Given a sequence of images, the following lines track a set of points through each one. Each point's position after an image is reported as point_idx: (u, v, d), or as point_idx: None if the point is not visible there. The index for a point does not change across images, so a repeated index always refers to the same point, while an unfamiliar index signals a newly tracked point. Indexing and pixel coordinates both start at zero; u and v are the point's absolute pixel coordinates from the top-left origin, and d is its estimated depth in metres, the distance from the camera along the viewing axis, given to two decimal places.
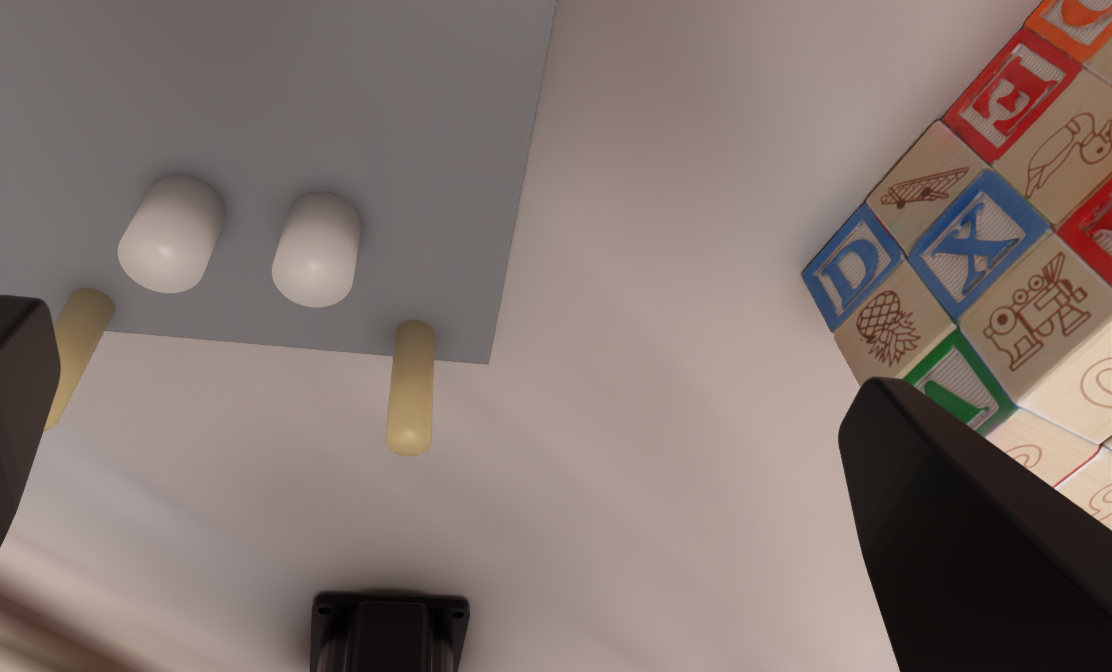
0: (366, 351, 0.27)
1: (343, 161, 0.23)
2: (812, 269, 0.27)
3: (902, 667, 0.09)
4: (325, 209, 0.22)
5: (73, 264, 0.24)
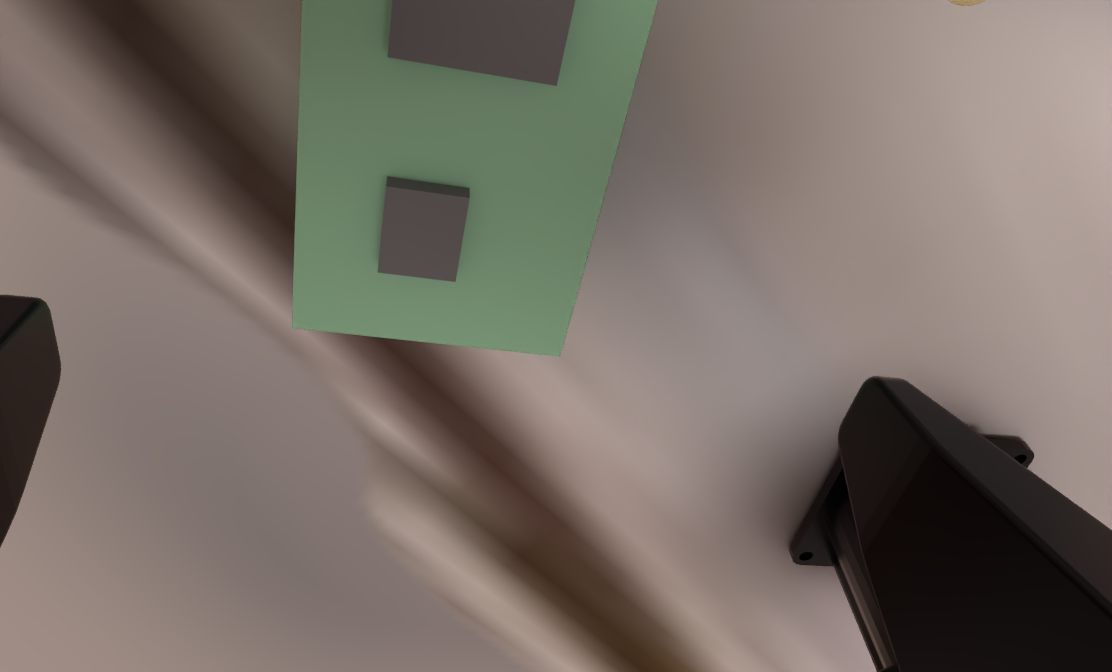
0: None
1: None
2: None
3: (902, 667, 0.09)
4: None
5: None
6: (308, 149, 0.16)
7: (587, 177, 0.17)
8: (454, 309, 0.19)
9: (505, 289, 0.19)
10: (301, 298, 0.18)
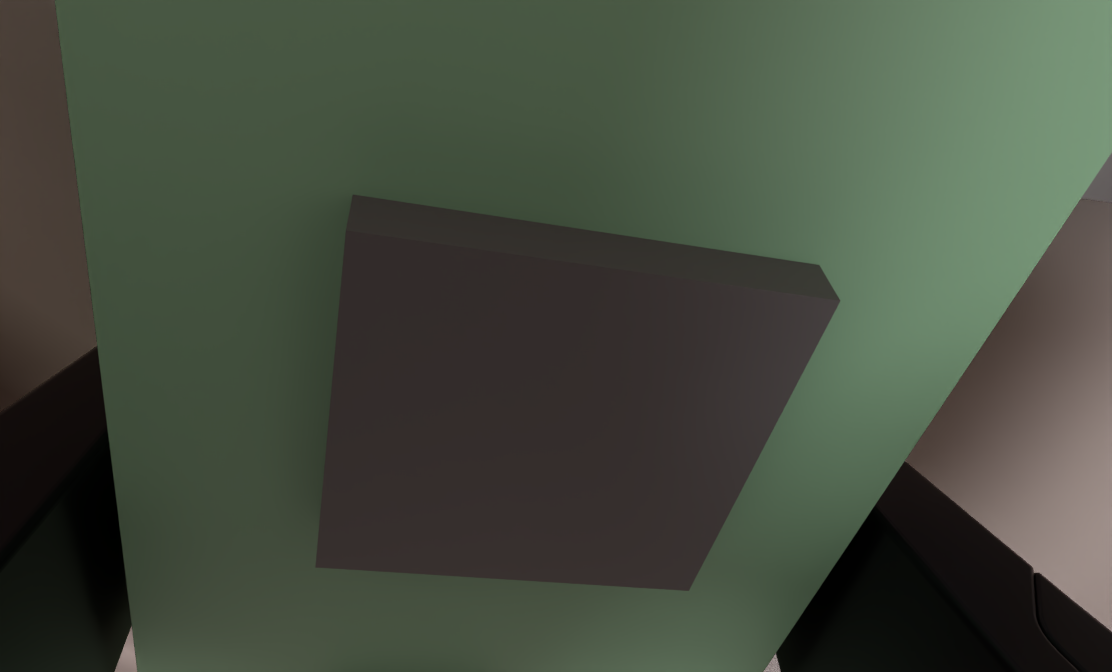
0: None
1: None
2: None
3: (781, 664, 0.09)
4: None
5: None
6: (161, 667, 0.08)
7: None
8: None
9: None
10: None
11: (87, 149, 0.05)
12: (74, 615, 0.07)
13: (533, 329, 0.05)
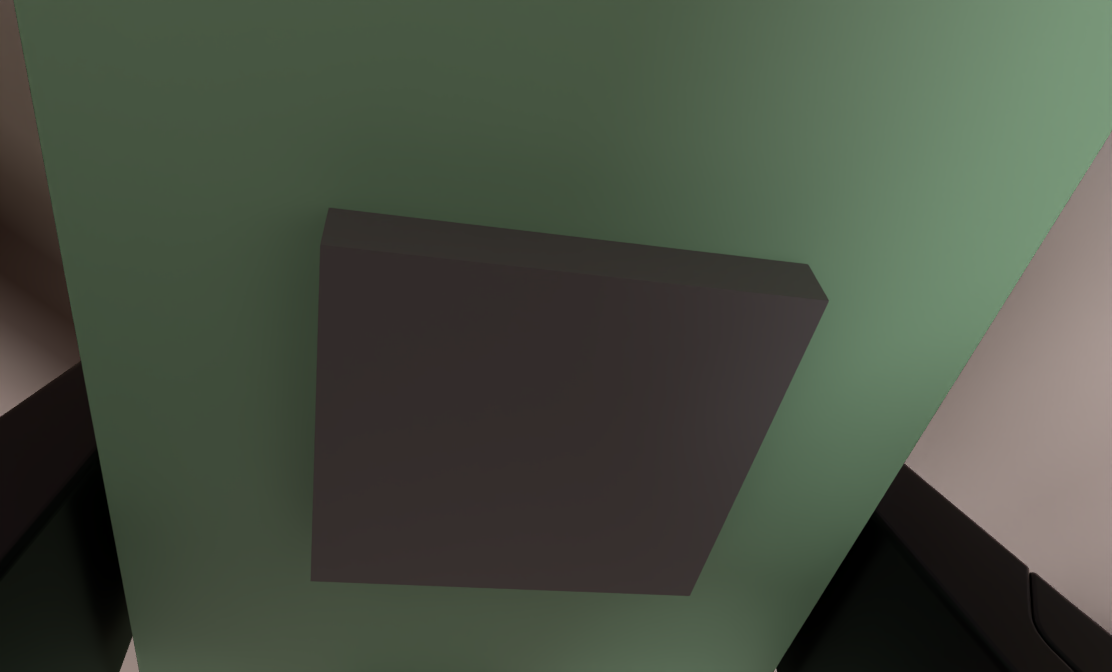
0: None
1: None
2: None
3: (778, 664, 0.09)
4: None
5: None
6: None
7: None
8: None
9: None
10: None
11: (59, 170, 0.05)
12: (80, 615, 0.07)
13: (516, 337, 0.05)
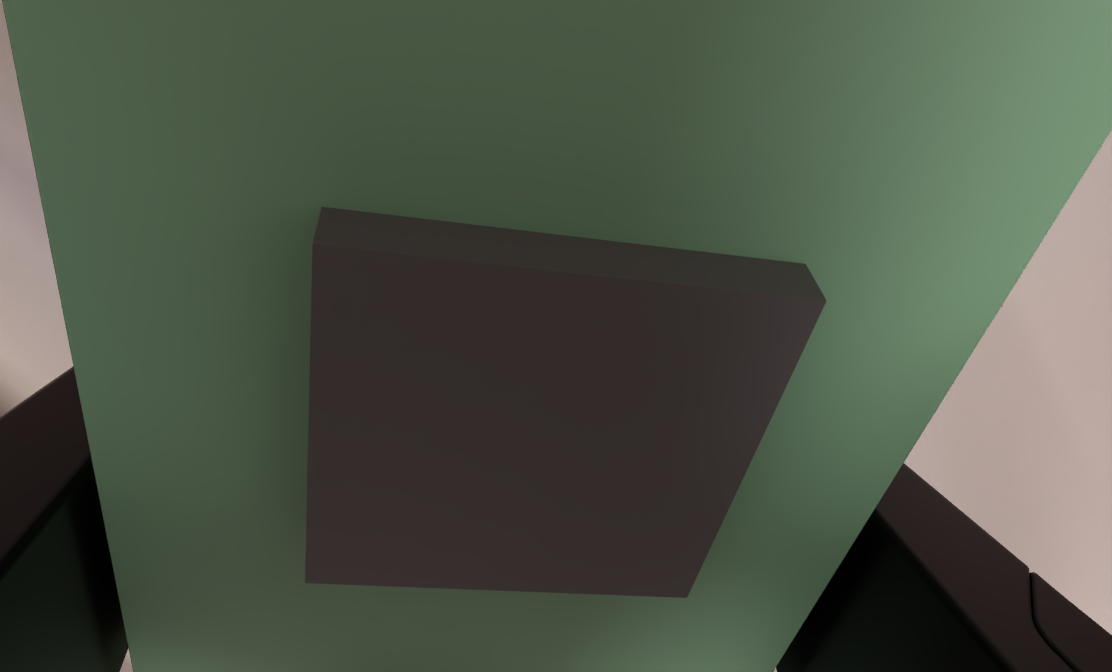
0: None
1: None
2: None
3: (778, 664, 0.09)
4: None
5: None
6: None
7: None
8: None
9: None
10: None
11: (49, 170, 0.05)
12: (80, 615, 0.07)
13: (510, 337, 0.05)
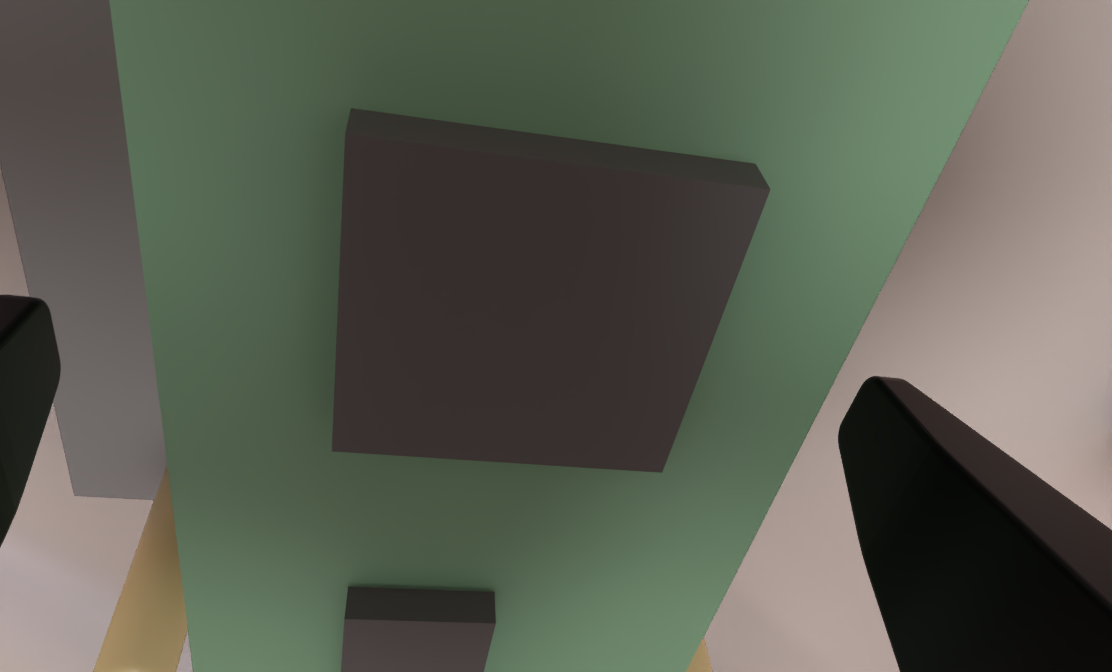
0: None
1: None
2: None
3: (902, 667, 0.09)
4: None
5: None
6: (200, 561, 0.09)
7: (702, 566, 0.10)
8: None
9: None
10: None
11: (130, 74, 0.06)
12: None
13: (507, 220, 0.06)
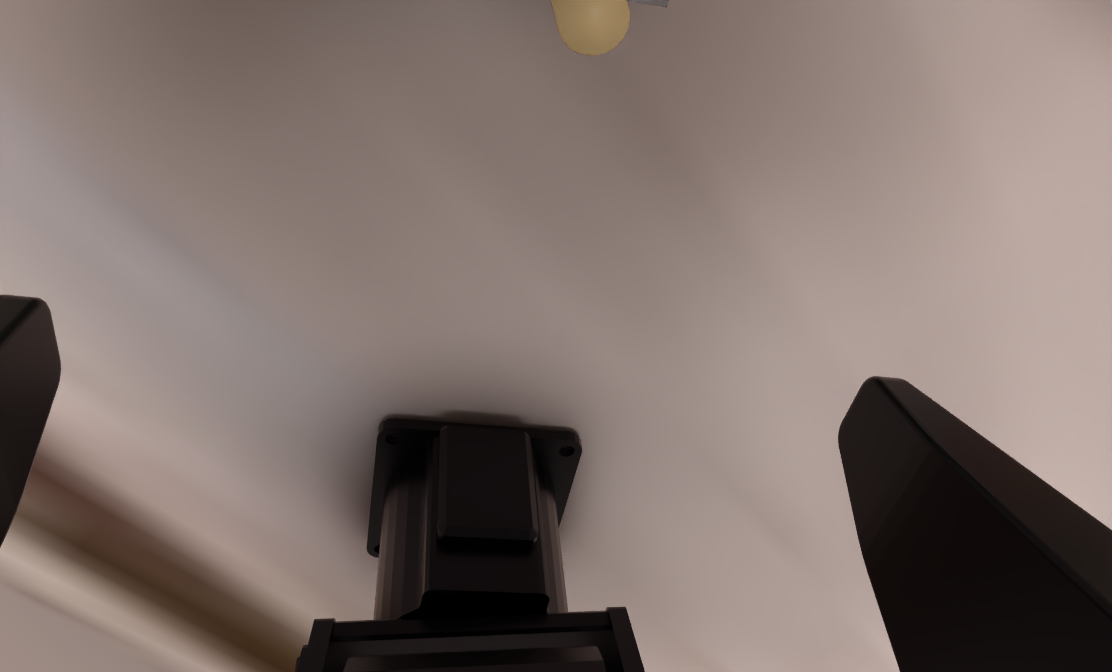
0: None
1: None
2: None
3: (902, 667, 0.09)
4: None
5: None
6: None
7: None
8: None
9: None
10: None
11: None
12: None
13: None
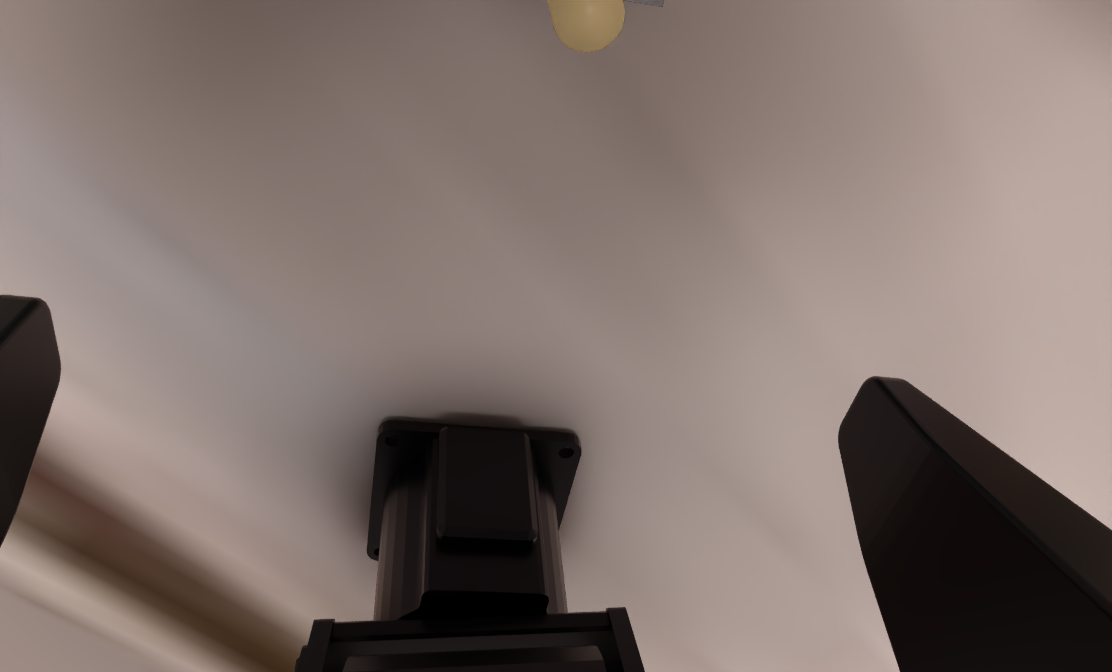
0: None
1: None
2: None
3: (902, 667, 0.09)
4: None
5: None
6: None
7: None
8: None
9: None
10: None
11: None
12: None
13: None
